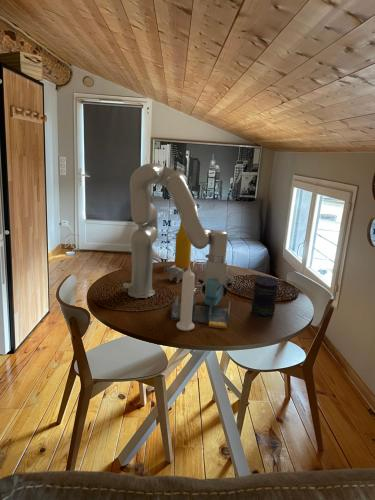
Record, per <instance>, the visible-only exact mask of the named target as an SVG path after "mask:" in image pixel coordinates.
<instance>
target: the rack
mask: <svg viewBox="0 0 375 500" xmlns="http://www.w3.org/2000/svg"><path fill="white" fill-rule="evenodd" d="M179 298H180V297H179V294H177V295H176V297H175V299H174V301H173V303H172V305H171V309H170V320H174V321H175V320H176V321H180V314H181V302H179ZM196 299H197V298H196V296H193V308H192V323H199V324H208V327H211V328H217V329H228V328H227V327H229V323H230V313H231V312H230V311H231V310H230V309H231V300H228V308H224V307H223V308H221V307H216V306H215V307H213V306H212V305H213V299H211V304H210V306H208V305H199V304H198V305H197V304H196Z"/></svg>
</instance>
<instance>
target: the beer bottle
mask: <svg viewBox="0 0 375 500" xmlns="http://www.w3.org/2000/svg"><path fill="white" fill-rule="evenodd" d="M174 252H175V254H174V264H173V265H176V267H177V268H180V269H182V268H183V269H184V270H188V267H189V266H190V267H191V256H192V255H191V254H192V244H191V242H190V240H189V238H188V236H187V234H186V232H185V230H184V227H183V224H182V222H181V221H180V225H179V229H178V231H177V233H176V236H175V250H174Z"/></svg>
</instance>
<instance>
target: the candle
mask: <svg viewBox="0 0 375 500" xmlns="http://www.w3.org/2000/svg"><path fill="white" fill-rule="evenodd" d="M195 276H196V275H195V273H194V272H193V271H192V270H191V265H190V266H189V267H188V269H186V271H184V273H183V279H182V282H181V284H182V286H181V298H180V299H181V301H180V303H181V314H180V320H179V321H178V322H176V328H177V329H178V330H180V331H184V332H185V331H186V332H187V331H191V330H193V329H195V322H192V308H193V299H194V295H195V294H194V293H195V280H196V279H195Z"/></svg>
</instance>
